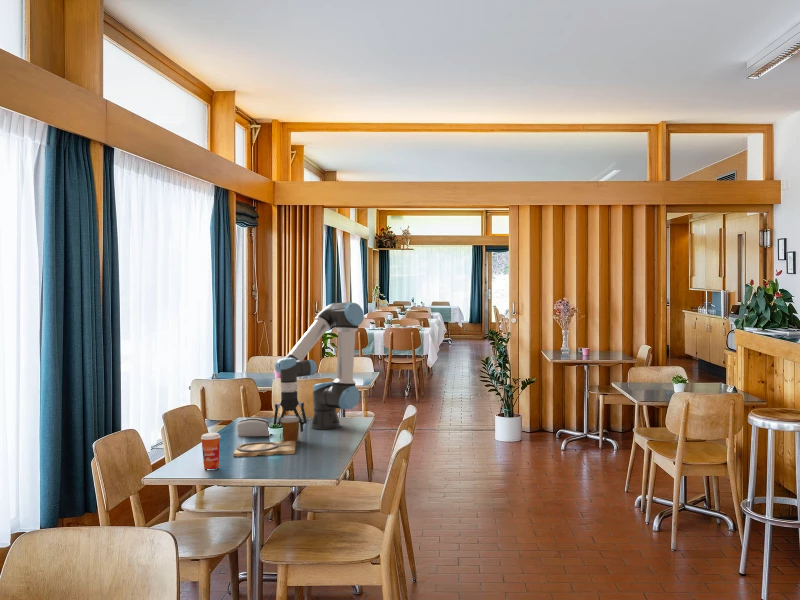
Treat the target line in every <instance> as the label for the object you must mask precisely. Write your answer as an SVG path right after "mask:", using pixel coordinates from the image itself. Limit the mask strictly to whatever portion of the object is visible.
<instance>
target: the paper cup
mask: <svg viewBox="0 0 800 600" xmlns="http://www.w3.org/2000/svg"><path fill="white" fill-rule="evenodd" d="M200 439H201V448H202V460H203V468H204V469H216V468H220V447H221V446H220V441H221V440H220V439H221V435H220V433H218V432H207V433H203V434H202V435H201V437H200Z"/></svg>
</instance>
